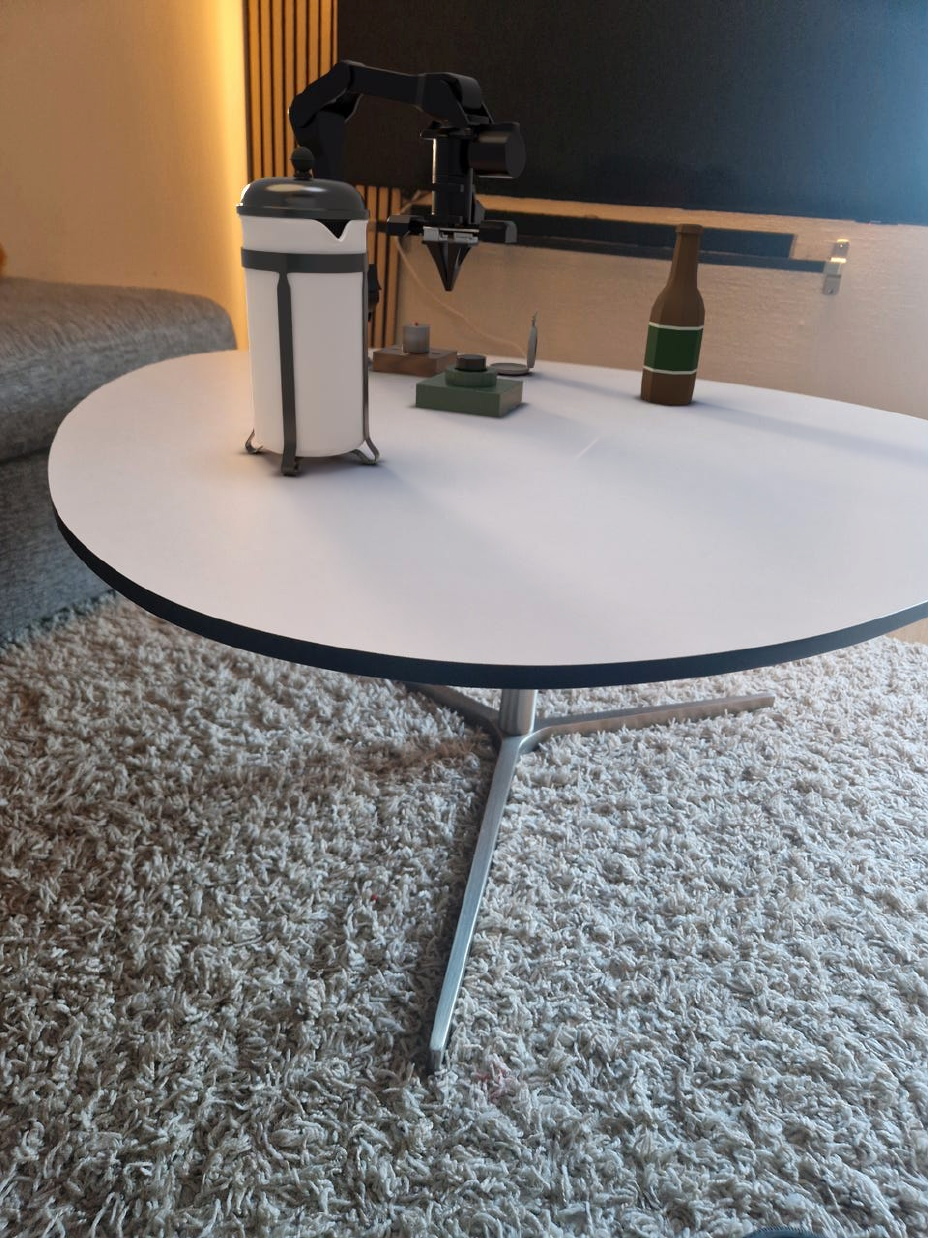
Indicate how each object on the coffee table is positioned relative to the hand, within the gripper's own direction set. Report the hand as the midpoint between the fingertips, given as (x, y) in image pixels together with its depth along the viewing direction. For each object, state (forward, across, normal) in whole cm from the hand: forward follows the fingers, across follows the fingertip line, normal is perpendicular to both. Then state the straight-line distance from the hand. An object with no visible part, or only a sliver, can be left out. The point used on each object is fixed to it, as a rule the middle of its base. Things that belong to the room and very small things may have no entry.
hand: (449, 291), depth 135 cm
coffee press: (+13, -3, +49) cm, 51 cm away
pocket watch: (+13, -8, -11) cm, 19 cm away
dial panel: (+13, +7, -4) cm, 15 cm away
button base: (+13, -10, +16) cm, 23 cm away
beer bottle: (+13, -34, -3) cm, 37 cm away
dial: (+10, +7, -4) cm, 13 cm away
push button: (+8, -10, +16) cm, 21 cm away
